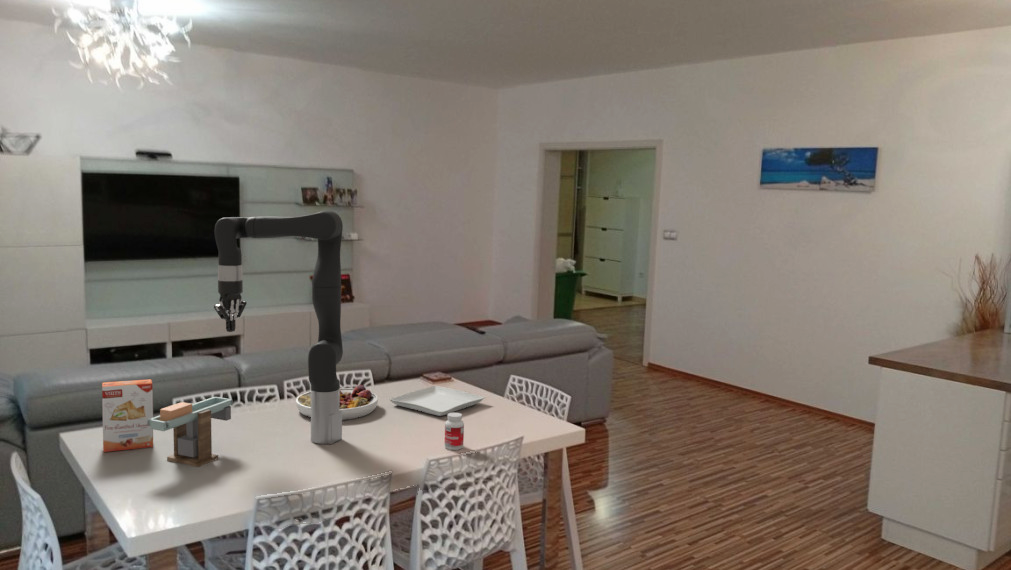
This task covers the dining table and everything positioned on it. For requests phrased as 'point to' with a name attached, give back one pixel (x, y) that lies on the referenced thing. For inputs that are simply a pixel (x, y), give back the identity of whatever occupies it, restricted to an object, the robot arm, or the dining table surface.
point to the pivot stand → (203, 442)
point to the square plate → (437, 400)
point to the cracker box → (127, 415)
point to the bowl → (345, 402)
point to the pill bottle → (454, 432)
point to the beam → (194, 422)
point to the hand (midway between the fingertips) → (230, 331)
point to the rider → (175, 411)
